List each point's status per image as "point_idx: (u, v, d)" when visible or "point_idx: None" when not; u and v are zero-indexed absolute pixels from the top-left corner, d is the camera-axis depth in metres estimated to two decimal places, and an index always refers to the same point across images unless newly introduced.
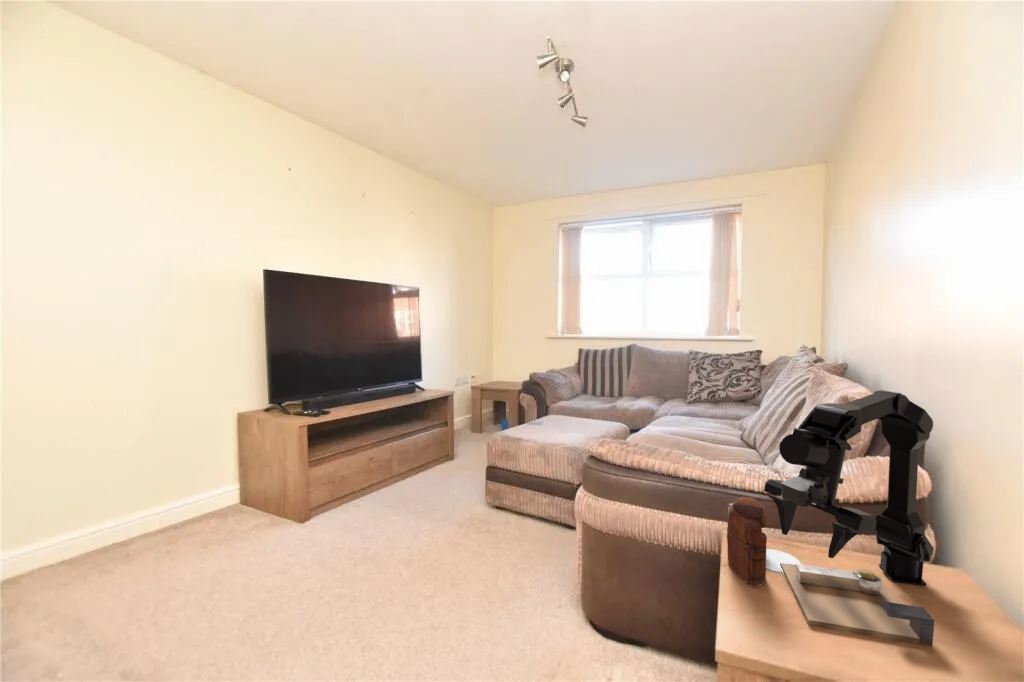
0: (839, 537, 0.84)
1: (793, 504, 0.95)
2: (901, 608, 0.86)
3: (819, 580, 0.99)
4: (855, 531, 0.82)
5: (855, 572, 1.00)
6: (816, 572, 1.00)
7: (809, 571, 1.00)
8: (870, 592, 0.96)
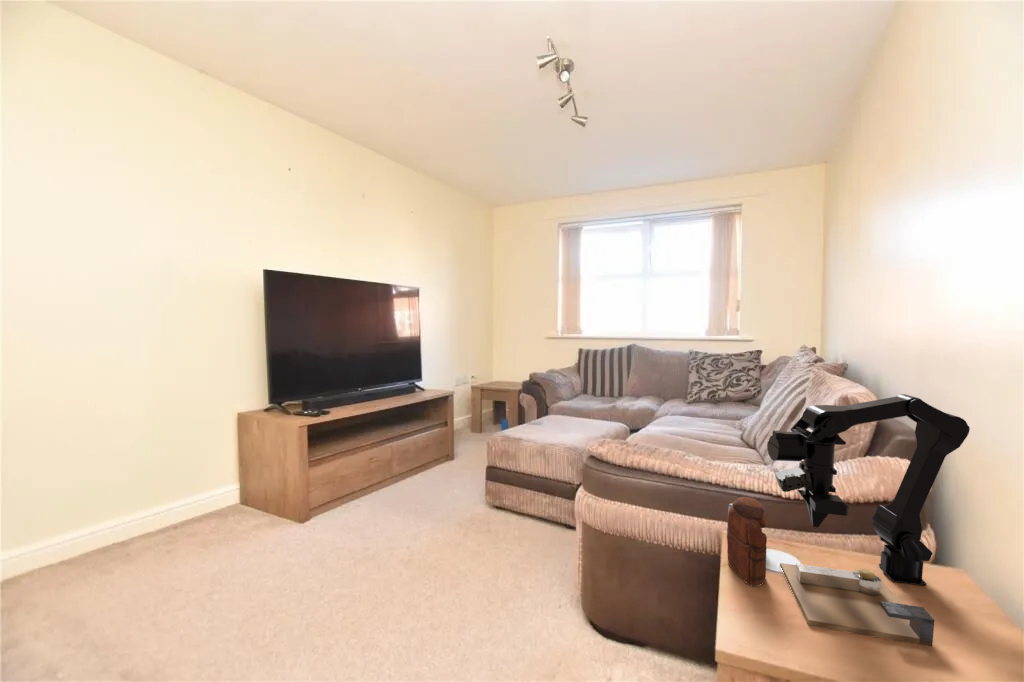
0: (811, 510, 1.04)
1: None
2: (901, 608, 0.86)
3: (819, 580, 0.99)
4: None
5: (855, 572, 1.00)
6: (816, 572, 1.00)
7: (809, 571, 1.00)
8: (870, 592, 0.96)
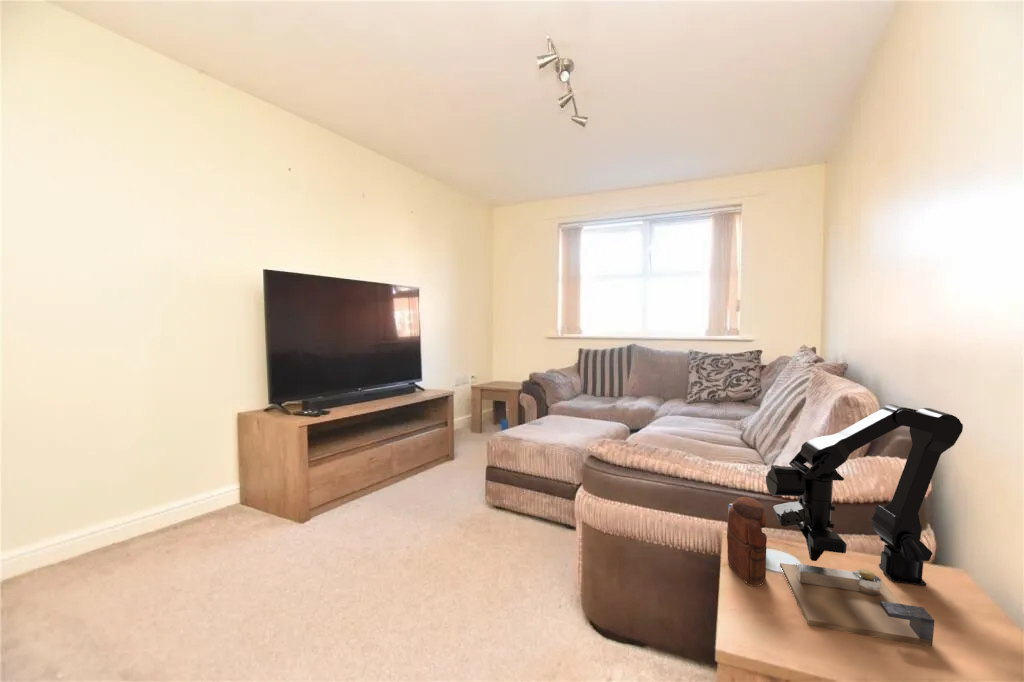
0: (810, 544, 1.05)
1: None
2: (901, 608, 0.86)
3: (819, 580, 0.99)
4: None
5: (855, 572, 1.00)
6: (816, 572, 1.00)
7: (809, 571, 1.00)
8: (870, 592, 0.96)
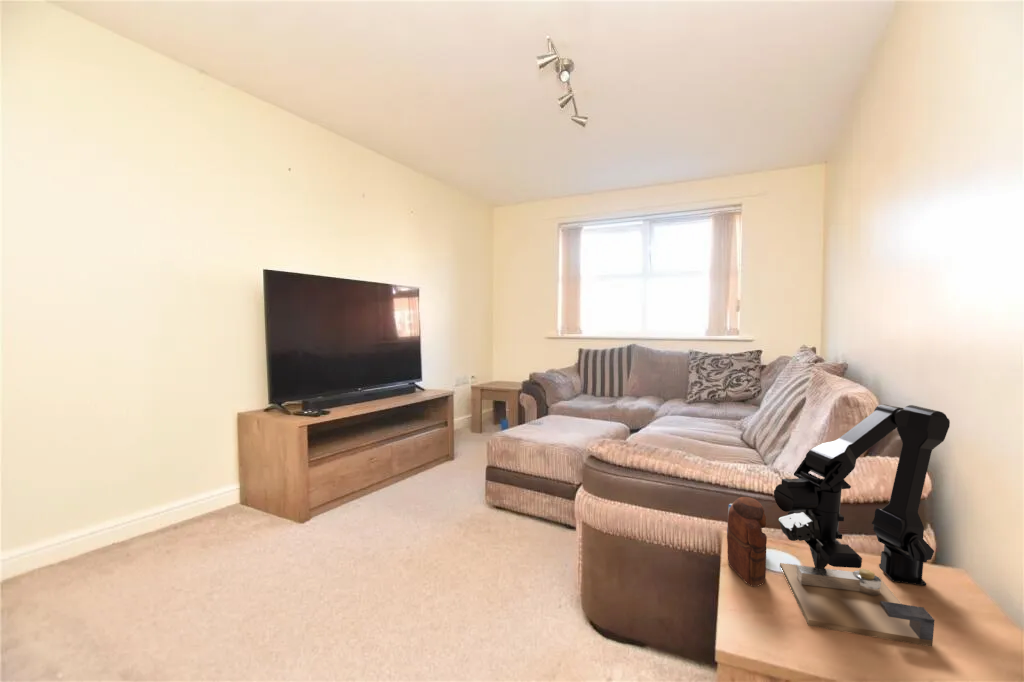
0: (816, 556, 1.01)
1: None
2: (901, 608, 0.86)
3: (820, 581, 0.99)
4: None
5: (855, 572, 1.00)
6: (817, 574, 0.99)
7: (810, 572, 1.00)
8: (871, 592, 0.96)
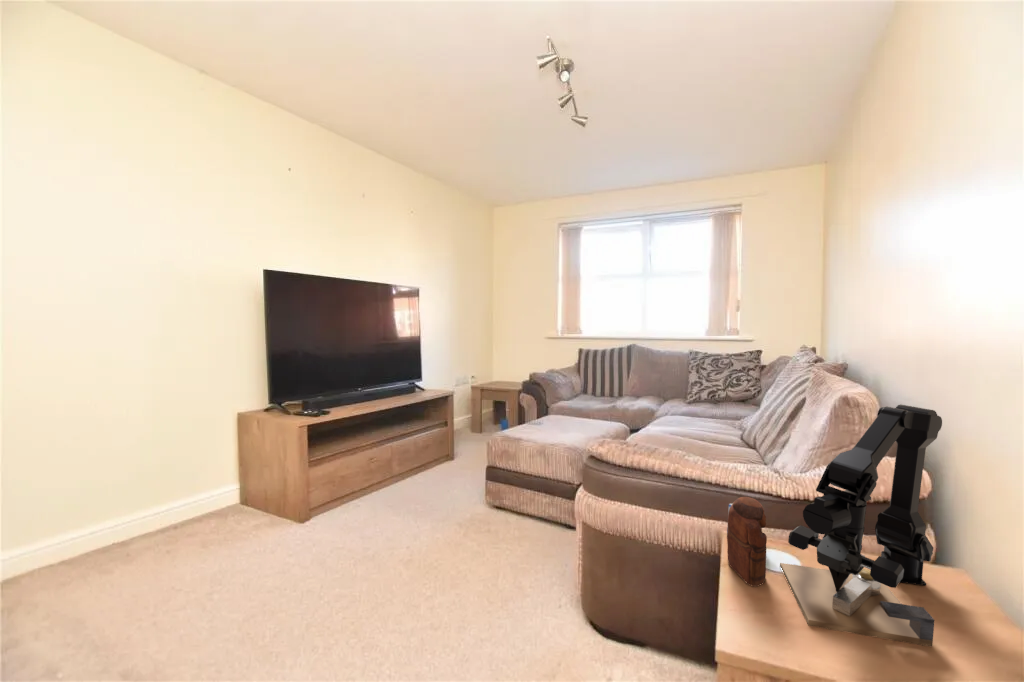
0: (845, 577, 0.93)
1: None
2: (901, 608, 0.86)
3: (857, 603, 0.92)
4: (859, 571, 0.91)
5: (855, 576, 0.99)
6: (854, 597, 0.92)
7: (850, 599, 0.91)
8: (879, 591, 0.96)
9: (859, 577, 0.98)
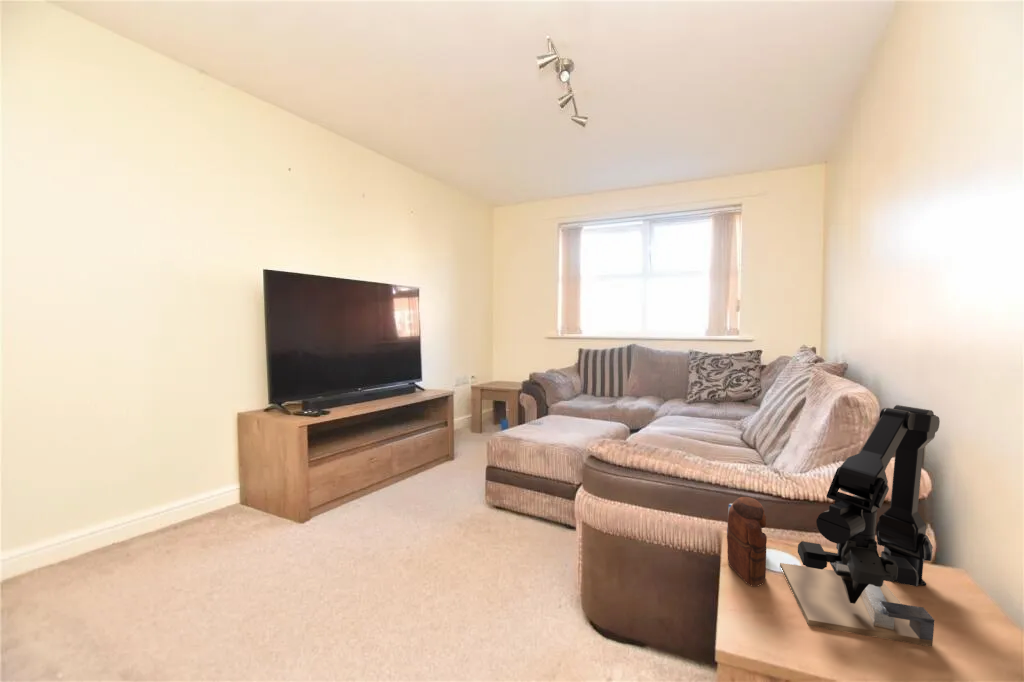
0: (865, 586, 0.90)
1: None
2: (901, 608, 0.86)
3: None
4: None
5: None
6: None
7: None
8: None
9: None
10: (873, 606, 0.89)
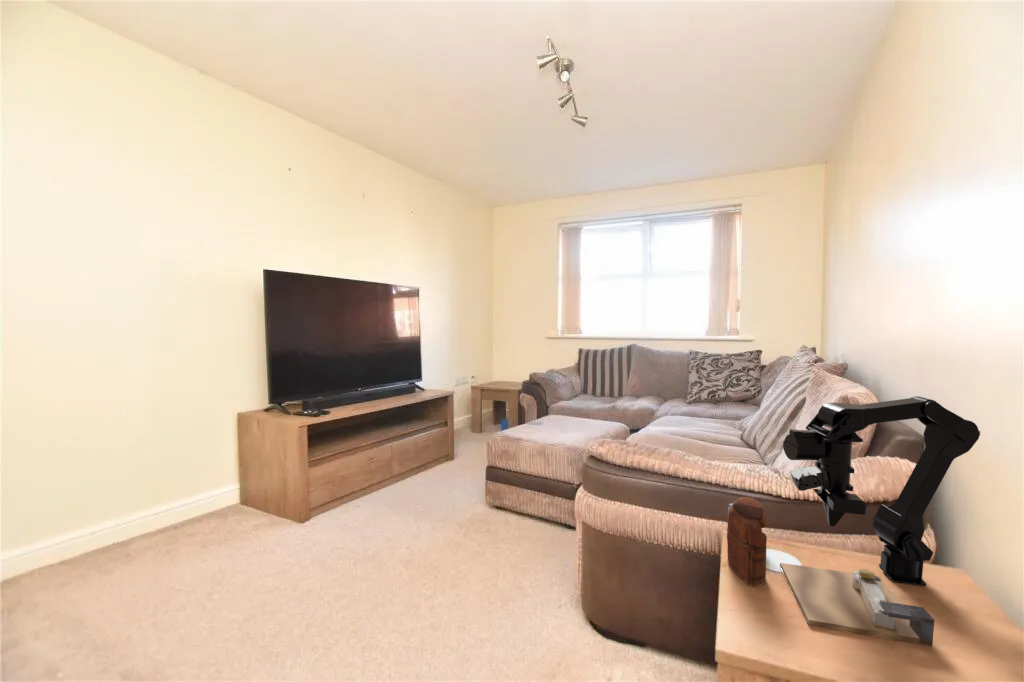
0: (828, 508, 1.03)
1: None
2: (901, 608, 0.86)
3: None
4: None
5: (859, 579, 0.97)
6: None
7: None
8: None
9: (863, 579, 0.97)
10: (873, 606, 0.89)
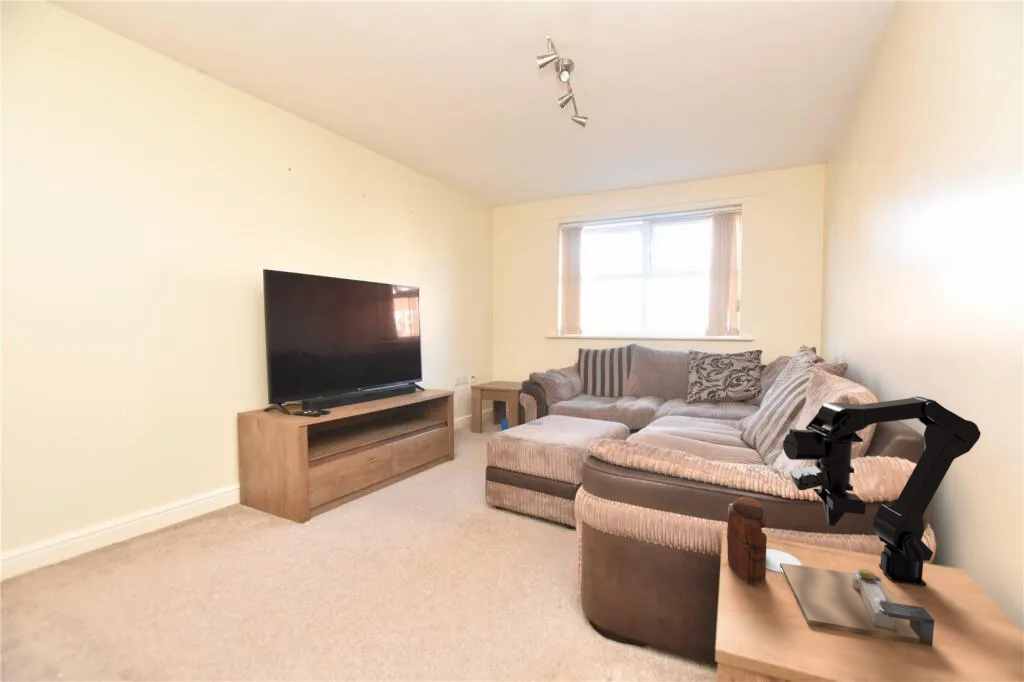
0: (828, 508, 1.03)
1: None
2: (901, 608, 0.86)
3: None
4: None
5: (859, 579, 0.97)
6: None
7: None
8: None
9: (863, 579, 0.97)
10: (873, 606, 0.89)
